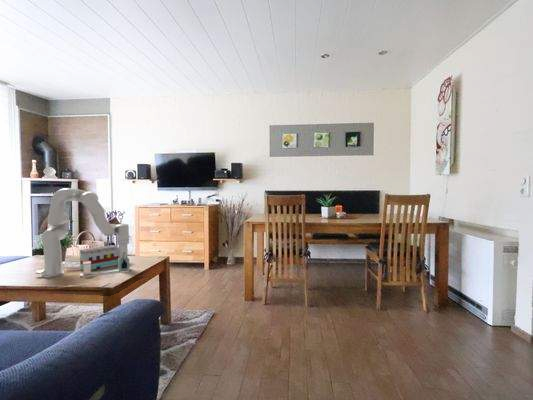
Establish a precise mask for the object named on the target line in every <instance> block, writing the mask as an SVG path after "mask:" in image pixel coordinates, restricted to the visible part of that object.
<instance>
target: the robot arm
mask: <svg viewBox="0 0 533 400" xmlns="http://www.w3.org/2000/svg"><path fill="white" fill-rule="evenodd" d="M73 201H74V202H78V203H82V205H83V206H84V207H85V209H86V210H87V211H88V213H89V214H90V215H91V217H92V219H93V222H94V224H95V226H96V227H97V229H98V230H99V231H100V232H101V234H103V235H104V236H105V237H111V236H113V235H116V246H119V247H118V257H119V259H121V258H122V269H124V268H127V260H126V258H127V257H128V253H129V252H128V251H129V250H128V245H129V244H130V230H129V229H130V227H129V224H127V223H120V224H118V223H110V222H109V221H108V220H107V217H106V212H105V208H104V207H103V206H102V205H101V203H100V202H99V195H97V194H96V193H95V192H93V191H87V190H83V189H79V188H70V187H68V188H67V187H66V188H60V189H59V190H56V191H55V192H54V193H53V195H52V196H51V201H50V206H49V211H48V215H47V224H48V225H49V226H52V227H51V228H47V229H45V230H44V231H43V232H42V235H41V239H42V244H43V262H44V265H43V267H44V269H42V270H37V271H36V272H35V274H36V275H41V277H42V278H47V279H48V278H51V277H54V276H55V277H56V276H61V275H63V274H65V273H66V272H65V271H64V270H63V262H62V261H63V259H62V257H63V256H62V255H63V253H62V245H61V241H62V240H64V239H65V237H66V236H67V234H68V233H67V232H68V228H69V225H70V224H69V223H70V215H69V214H68V213H67V212H66V207H67V204H66V203H67V202H73Z"/></svg>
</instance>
